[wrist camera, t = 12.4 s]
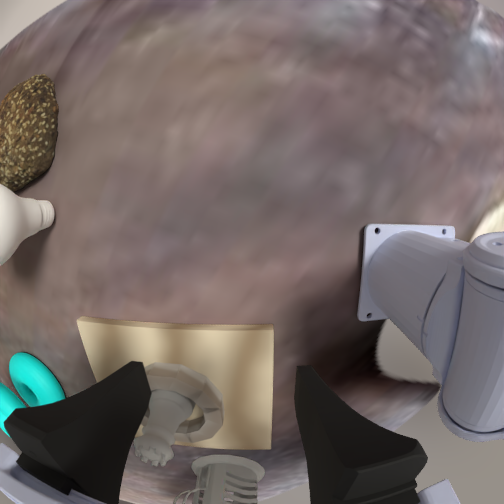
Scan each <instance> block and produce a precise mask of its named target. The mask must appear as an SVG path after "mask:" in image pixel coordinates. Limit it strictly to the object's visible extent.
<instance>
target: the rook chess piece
mask: <svg viewBox="0 0 504 504" xmlns="http://www.w3.org/2000/svg"><path fill="white" fill-rule="evenodd" d="M151 392H152V394H151V398H150V402H149V409H150V415H149V420H148V423H147V425H146V426H144V427H143V428H142V433H143V435H142V436H139V437H137V438H135V439H134V445H135V448H136V449H135V455H136V457H140V455H141V456H142V457H141V461H143V462H144V463H146V462H147V460H151V461H152V466H157V467H158V464H159V463H160V462H161V463H160V465H161V466H165V465H166V463H167V461H168V460H170V459H172V458H173V457H174V453H173V451H172V449H171V445H173V444H174V443H175V438H174V435H175V432H176V430H177V429H178V427H179V425H180V424H181V423H182V422H184V421H185V420H186V419H187V418H189V417H190V416H191V414H192V412H193V409H194V407H195V404H196V403H195V402H194V401H193V400H192V399H190V398H188V397H186V396H184V395H181V394H179V393H177V392H175V391H169V390H160V389H155V390H152V391H151Z"/></svg>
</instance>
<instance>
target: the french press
mask: <svg viewBox="0 0 504 504" xmlns="http://www.w3.org/2000/svg"><path fill="white" fill-rule="evenodd" d="M191 468H192V470H193V471H194V473H195V474H196V475H197V481H196V486H195V489H193V490H187V491H184V492H181V493H180V494H179V495H178V496H177V497H176V498H175V500H174V502H173V504H176V501H177V500H178V498H179V497H180V496H181V495H182V494H184V493H186V492H189V493H188V494H187V495H186V496H185V498H184V500H183V503H182V504H185V501H186V499H187V498H188V496H189V495H190V494H191V493H192V492H194V496H193V502H192V504H257V489H258V488H257V482H258V481H260V480H261V479H262V478H263V476H264V475H265V471H264V468H263V467H262V466H261V465H259V464H258V463H257V462H255V461H252V460H250V459H247V458H244V457H238V456H233V455H209V456H204V457H200V458H198V459H197V460H195V461H193V463H192V467H191ZM255 487H256V488H255ZM200 490H203V491H204V494H202V493H200ZM225 491H230V492H234V495H231V494H229V493H227V492H225ZM199 496H200V497H203V501H201V500H199ZM224 498H230V499H232V500H233V502H230V501H224Z"/></svg>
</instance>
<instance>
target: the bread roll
mask: <svg viewBox="0 0 504 504" xmlns="http://www.w3.org/2000/svg"><path fill="white" fill-rule="evenodd" d="M58 112H59V109H58V104H57V101H56V99H55V89H54V83H53V82H52V81H51V79H50V78H48V77H47V76H46V75H45V74H41V75H35V76H33V77H32V78H29V79H28V80H26V81H24V82H22V83H19V84H18V85H16V86H15V87H14V88H13V89H12V90H11V91H10V92H9V93H8V94H7V95H6V96H5V97H4V100H3V101H2V102H1V105H0V184H2V185H4V186H5V187H7V188H8V189H9V190H11V191H12V192H14V191H16V190H18V189H21V188H22V187H24V186H25V185H27V184H28V183H29V182H30V181H31V180H33V179H35V178H37V177H38V176H40V175H41V174H43V173H44V172H45V171H46V170H47V169H48V168H49V167H50V165H51V163H52V159H53V157H54V150H55V144H56V139H57V135H58V131H57V124H58V123H57V116H58Z"/></svg>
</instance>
